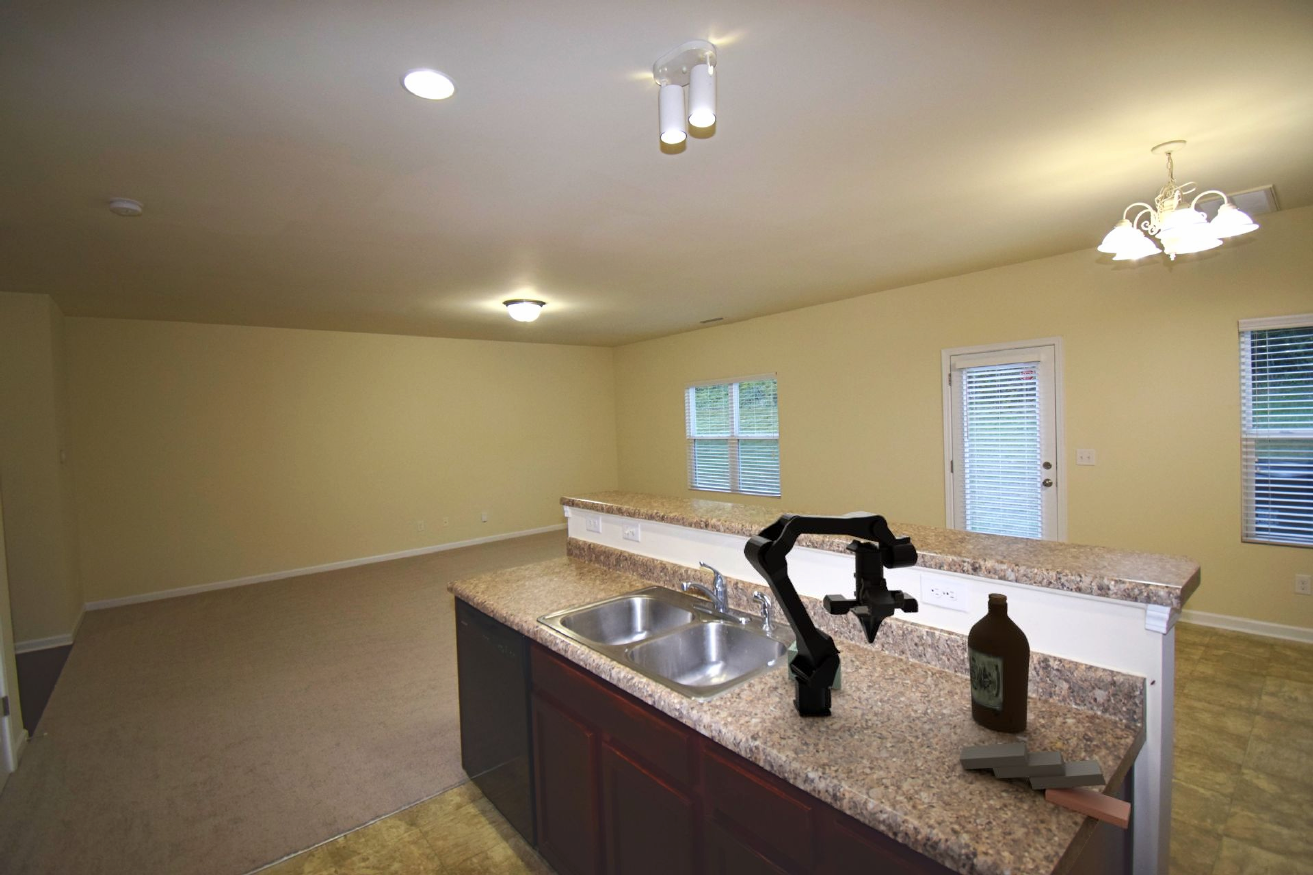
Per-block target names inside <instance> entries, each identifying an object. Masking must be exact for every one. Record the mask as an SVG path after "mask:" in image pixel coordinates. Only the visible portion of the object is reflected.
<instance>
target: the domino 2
mask: <svg viewBox="0 0 1313 875" xmlns="http://www.w3.org/2000/svg"><path fill="white" fill-rule="evenodd" d="M1065 762H1066V760H1065V759H1064V756H1063V754H1062V752H1061V750H1055V751H1039V752H1029V760H1028V766H1014V767H995V768H992V771H993V772H994V776H995V778H996V779H1009V778H1027V777H1028V778H1029V777H1032V776H1052V775H1065Z"/></svg>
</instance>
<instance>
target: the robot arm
mask: <svg viewBox="0 0 1313 875" xmlns="http://www.w3.org/2000/svg"><path fill="white" fill-rule="evenodd" d="M801 535H826V536H827V535H828V536H830V535H831V536H849V537H853V539H852V541H851V542H850V543H849V544H847V546H846V547H845V550H846V551H849V552H852V553H854V561H855V562H854V566H855V567H854V570H855V572H853V578H854V579H855V580H854V581H855V590H854V591H853V596H854V597H855V598H846V597H845V596H844V595H843V594H841V593H840V594H825V595H824V597H823V600H822V607H823V608H824V610H826V611H827V613H828V614H829V615H831V616H846V615H847V614H849V612H851V613H852V614H853V615H854V616H855V617H856V618H857V620H858V621H859V624H860V625H861V629H862V631H863V634H864V636H865V638H866V641H867V643H868V644H869V645H870V644H872V645H873V644H874V642H875V639H876V638H877V634H878V631H879V629H880V627H881V625H882V623H883V621H884V620H885V619H887V618H891V617H893V616H894V615H895V610H901V611H902V612H903V613H905V614H911V613H912V614H913V613H914V614H915V613H919V602H918V600H917V599H916V598H915V597H914V596H912V595H911V594H909V593H907V591H906V592H905V591H904V592H903V590H902V589H893V590H892V589H888V585H887V579H886V578H885V577H884V576H885V573H884V570H885V569H887V570H893V569H894V570H895V569H901V568H902V569H903V568H910V567H914V566H915V565H917V563H918V559H919V554H918V552H917V549H916V547H915V545H914V544H913V543H912V542H911V541H912V540H911V536H908V535H902V534H901V535H898V536H895V534H894V533H893V532H892V530H891V529H890V527H889V524H888V522H887V519H886V518H885V516H883V515H880V514H876V513H872V512H869V511H867V512H866V511H863V510H858V511H852V512H848V513H847V512H846V513H845V514H842V515H825V514H824V515H822V514H821V515H819V514H799V513H791V512H785V513H783V514H781V516H779V517H778V518H777V519H776V520H775V521H774V522H772V523H771V524H769V525H767V526H765V527H764V528H763V529H761V530H760V531H759V532H758V533H757V534H756V535H754V536H752V537H750V538H749V539H748V540H747V541H746V543H745V545H744V548H743V554H744V556H745V557H744V558H745V559H746V560H747V561H748V563H749V564H750V565H751V566H752V567H753V568H754V570H755V571H756V572H757V573H758V574H759V575H760V576H761V578H763V579H764V580H765V582H767V585H768V587H769V588H770V590H771V592H772V594H773V596H774V598H775V600H776V601H777V604H778V605H779V607H780V609H781V610H782V612H783V614H784V616H785V619H786V620H787V621H788V624H789V626H790V627H791V629H792V631H793V633H794V634H795V635H794V636H795V641H796V647H797V650H798V654H797V655H796V656H795V657H794V659H793V660H792V661H791V662H790V664H789V667H790V670H791V673H792V674H794V675H796V676H797V677H795V680H794V695H795V696H794V699H793V700H792V702H793V705H794V706H795V709H796V711H797V712H798V714H799V716H800V717H823V716H824V717H825V716H826V717H828V716H832V714H833V712H832V710H831V709H832V688H830V687H832V686H833V683H834V679H835V676H836V672H837V669H838V667H839V664H840V655H839V654H841V651H840V650H839V649H838V648H837V646H836V644H835V640H834V638H833V636H831V635H830V634H828V633H826V632H825V631H823V630H821V629H820V628H818V627H816V626H815V624H814V621H813V620H812V618H811V616H810V614H809V612H808V610H807V609H806V607H805V605H804V603H803V601H802V599H801V597H800V595H799V593H798V592H797V590H796V587H795V586H794V584H793V582H792V580H791V578H790V576H789V573H788V571H789V570H788V569H789V568H788V561H787V557H786V556H787V555H788V554H789V553H790V552H791V551H792V550H793V548H794V545H795V544H796V542H797V539H798V538H799V537H800V536H801ZM854 538H857V539H854ZM858 539H862V540H864V541H865V540H866V541H865V542H864V541H862V542H861V541H860V540H858ZM874 542H875V543H877V544H875V543H874ZM884 568H885V569H884Z"/></svg>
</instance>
